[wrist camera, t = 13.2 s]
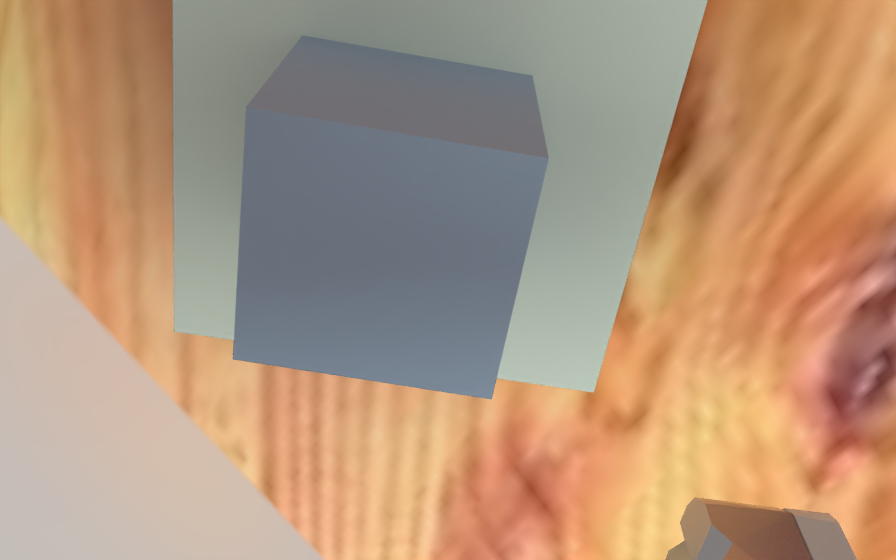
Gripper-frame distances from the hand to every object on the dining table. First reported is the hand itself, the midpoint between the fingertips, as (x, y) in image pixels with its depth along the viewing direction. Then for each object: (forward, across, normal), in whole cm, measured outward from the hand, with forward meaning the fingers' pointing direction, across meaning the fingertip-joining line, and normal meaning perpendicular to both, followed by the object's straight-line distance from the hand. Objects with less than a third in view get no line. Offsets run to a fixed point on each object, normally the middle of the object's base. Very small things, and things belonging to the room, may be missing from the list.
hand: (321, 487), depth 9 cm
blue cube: (+11, 0, +1) cm, 11 cm away
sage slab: (+15, 0, +1) cm, 15 cm away
